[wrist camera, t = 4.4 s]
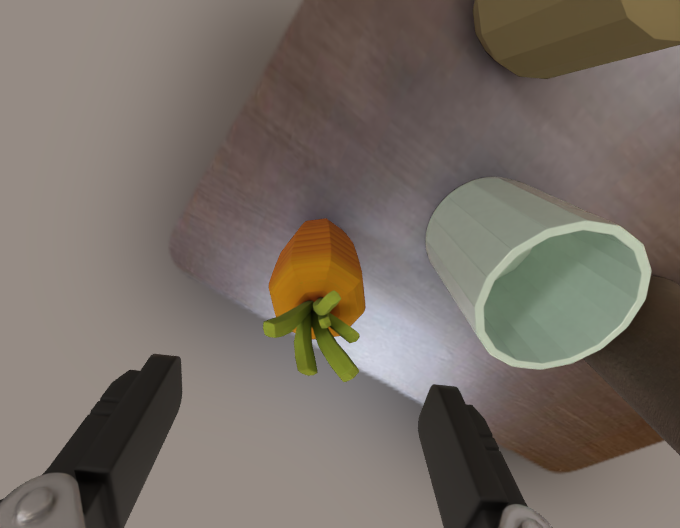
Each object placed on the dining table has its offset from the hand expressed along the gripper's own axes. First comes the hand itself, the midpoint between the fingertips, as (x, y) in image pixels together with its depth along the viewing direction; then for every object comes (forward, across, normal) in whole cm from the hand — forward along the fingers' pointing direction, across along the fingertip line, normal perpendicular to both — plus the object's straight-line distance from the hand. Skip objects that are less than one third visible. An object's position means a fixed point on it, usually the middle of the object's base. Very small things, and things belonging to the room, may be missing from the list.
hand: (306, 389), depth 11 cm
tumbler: (+17, -13, -1) cm, 21 cm away
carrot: (+17, 0, 0) cm, 17 cm away
